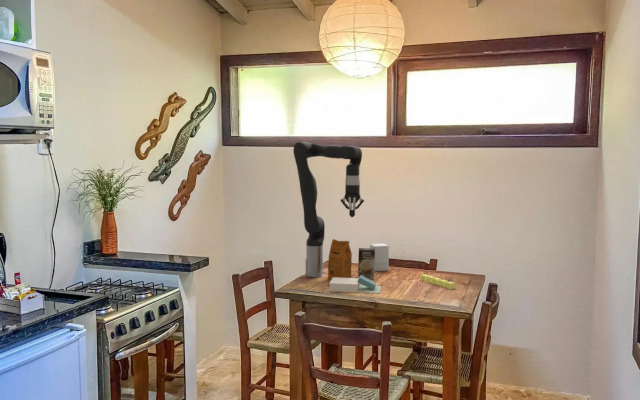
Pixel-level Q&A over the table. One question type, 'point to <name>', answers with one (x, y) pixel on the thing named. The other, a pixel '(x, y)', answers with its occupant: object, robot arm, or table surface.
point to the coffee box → (366, 262)
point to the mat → (367, 290)
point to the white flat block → (344, 284)
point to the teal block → (366, 282)
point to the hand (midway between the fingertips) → (352, 216)
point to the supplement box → (381, 257)
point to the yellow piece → (438, 281)
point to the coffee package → (339, 260)
